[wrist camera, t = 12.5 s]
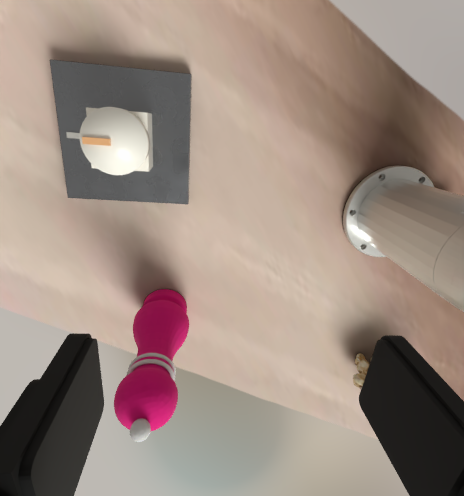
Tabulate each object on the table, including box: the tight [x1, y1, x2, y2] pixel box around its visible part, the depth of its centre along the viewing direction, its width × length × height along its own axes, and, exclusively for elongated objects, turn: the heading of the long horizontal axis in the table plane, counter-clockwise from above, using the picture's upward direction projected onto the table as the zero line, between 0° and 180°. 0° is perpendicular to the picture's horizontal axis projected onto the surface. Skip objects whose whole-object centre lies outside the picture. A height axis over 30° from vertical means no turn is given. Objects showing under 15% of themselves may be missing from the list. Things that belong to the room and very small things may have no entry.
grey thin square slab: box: [50, 60, 192, 204], centre depth 33 cm, size 14×14×5 cm
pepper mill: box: [114, 289, 189, 442], centre depth 35 cm, size 7×7×20 cm
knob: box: [80, 107, 153, 175], centre depth 30 cm, size 6×6×6 cm
